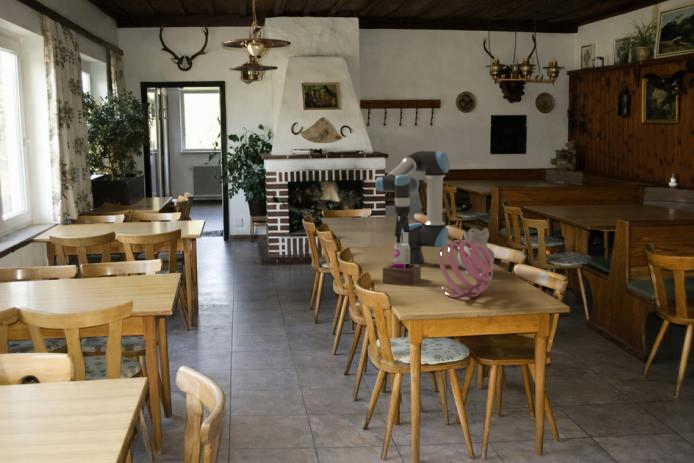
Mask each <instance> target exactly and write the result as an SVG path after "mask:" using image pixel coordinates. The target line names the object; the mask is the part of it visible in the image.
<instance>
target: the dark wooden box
mask: <svg viewBox="0 0 694 463" xmlns="http://www.w3.org/2000/svg"><path fill="white" fill-rule="evenodd" d="M421 269H422V265H419V264H410V269H400V268H394V262H390V263H389V264H387V265H386V266H384V267H383V268H382V284H393V285H394V284H395V285H396V284H397V285H410V286H413V285H415V284H416V283H418V282H419V281H420V280H421V279H422V278H421V277H422V276H421V271H422V270H421Z"/></svg>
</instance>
